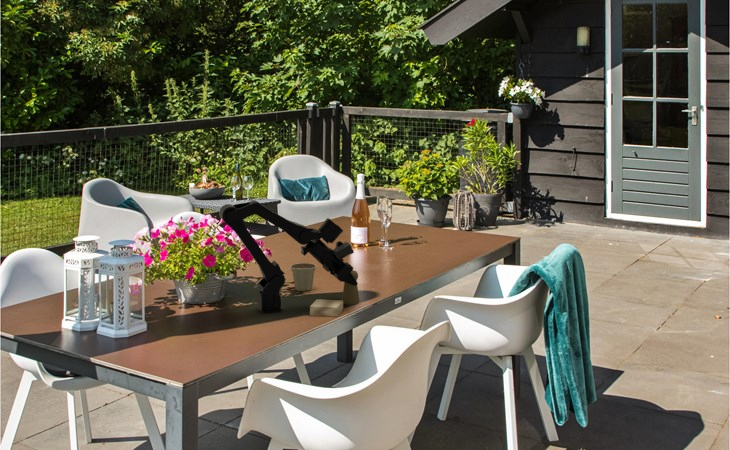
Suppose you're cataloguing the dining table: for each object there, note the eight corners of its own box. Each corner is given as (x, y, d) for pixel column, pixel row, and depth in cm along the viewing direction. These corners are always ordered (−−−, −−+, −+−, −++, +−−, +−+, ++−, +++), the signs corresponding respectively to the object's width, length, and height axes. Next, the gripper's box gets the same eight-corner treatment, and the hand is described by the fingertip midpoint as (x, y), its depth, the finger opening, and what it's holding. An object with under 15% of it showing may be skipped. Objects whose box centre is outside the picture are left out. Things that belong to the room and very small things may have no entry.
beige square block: (310, 315, 308) (310, 306, 308) (316, 308, 317) (316, 299, 316) (337, 316, 307) (337, 307, 306) (343, 309, 315) (343, 300, 315)
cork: (349, 299, 328) (349, 267, 326) (363, 301, 324) (363, 270, 322) (338, 302, 323) (337, 271, 321) (351, 305, 320) (351, 273, 318)
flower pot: (316, 292, 337) (315, 268, 336) (289, 292, 338) (288, 268, 336) (317, 286, 347) (317, 262, 345) (291, 286, 347) (291, 263, 345)
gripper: (347, 240, 310) (379, 271, 315) (330, 230, 327) (361, 259, 333) (324, 266, 309) (356, 296, 314) (309, 254, 326) (340, 283, 332)
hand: (354, 283), depth 323 cm, fingers closed on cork, 5 cm apart
